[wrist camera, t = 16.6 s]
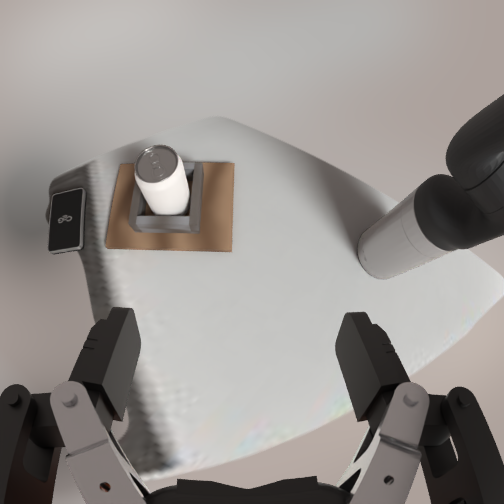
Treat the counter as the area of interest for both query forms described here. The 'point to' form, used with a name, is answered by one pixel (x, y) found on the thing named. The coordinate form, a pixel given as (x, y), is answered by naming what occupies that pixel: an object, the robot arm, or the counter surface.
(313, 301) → the counter surface
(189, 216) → the socket board
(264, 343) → the counter surface
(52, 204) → the external hard drive
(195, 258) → the counter surface
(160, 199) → the can
